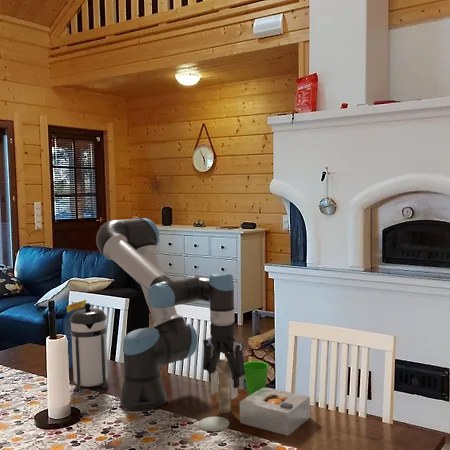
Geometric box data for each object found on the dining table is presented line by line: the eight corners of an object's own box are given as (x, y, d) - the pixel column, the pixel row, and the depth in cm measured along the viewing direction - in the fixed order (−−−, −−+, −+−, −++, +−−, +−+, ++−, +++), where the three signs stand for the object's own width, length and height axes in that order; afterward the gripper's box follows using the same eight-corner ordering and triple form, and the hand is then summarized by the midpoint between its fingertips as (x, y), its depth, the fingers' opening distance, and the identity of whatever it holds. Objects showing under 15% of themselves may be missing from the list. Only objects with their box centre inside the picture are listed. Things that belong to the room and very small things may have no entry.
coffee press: (123, 381, 202) (119, 300, 199) (90, 396, 188) (86, 309, 186) (89, 373, 211) (85, 296, 209) (56, 387, 197) (52, 304, 195)
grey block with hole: (240, 422, 164) (239, 399, 163) (264, 406, 175) (263, 384, 175) (288, 435, 155) (287, 411, 154) (310, 417, 166) (309, 394, 166)
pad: (192, 426, 162) (192, 425, 162) (210, 415, 170) (210, 414, 170) (217, 434, 157) (217, 432, 157) (235, 422, 164) (234, 420, 164)
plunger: (265, 410, 164) (264, 402, 164) (272, 405, 168) (272, 397, 168) (278, 413, 162) (277, 405, 162) (285, 408, 166) (285, 400, 165)
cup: (268, 403, 178) (267, 370, 177) (240, 402, 180) (239, 369, 179) (271, 393, 186) (270, 361, 186) (244, 392, 188) (244, 360, 188)
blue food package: (63, 367, 219) (60, 305, 217) (82, 358, 230) (79, 299, 228) (75, 369, 217) (73, 306, 215) (94, 360, 228) (92, 300, 226)
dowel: (216, 411, 173) (215, 361, 172) (223, 407, 176) (222, 358, 175) (226, 413, 171) (224, 363, 170) (232, 409, 174) (231, 360, 173)
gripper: (189, 321, 174) (192, 392, 175) (242, 329, 163) (244, 405, 164) (204, 316, 180) (206, 385, 182) (256, 324, 169) (257, 397, 170)
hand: (224, 395), depth 173 cm, fingers open, 7 cm apart
